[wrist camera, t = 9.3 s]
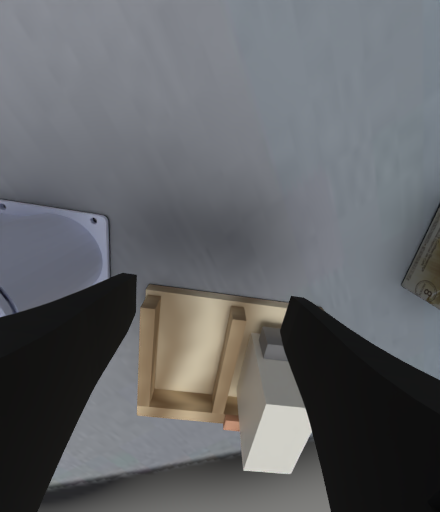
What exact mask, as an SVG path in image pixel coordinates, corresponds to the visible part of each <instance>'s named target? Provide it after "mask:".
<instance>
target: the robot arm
mask: <svg viewBox="0 0 440 512" xmlns="http://www.w3.org/2000/svg"><path fill="white" fill-rule="evenodd" d="M4 205H5V206H6V209H5V208H4ZM93 218H95V219H96V220H97V223H95V222H94V221H93ZM136 282H137V275H134V274H126V273H121V274H118V275H116V276H113V277H111V278H110V265H109V228H108V219H107V217H105V216H104V215H99V214H93V213H86V212H80V211H74V210H67V209H61V208H54V207H48V206H41V205H35V204H28V203H22V202H15V201H9V200H2V199H0V512H37V511H38V509H39V507H40V504H41V502H42V499H43V497H44V495H45V492H46V490H47V488H48V486H49V483H50V481H51V479H52V477H53V474H54V472H55V470H56V468H57V465H58V463H59V461H60V459H61V456H62V454H63V452H64V450H65V448H66V445H67V443H68V441H69V439H70V437H71V435H72V432H73V430H74V428H75V426H76V424H77V422H78V420H79V418H80V415H81V413H82V411H83V409H84V407H85V405H86V403H87V401H88V399H89V397H90V395H91V393H92V391H93V389H94V387H95V385H96V384H97V382H98V380H99V378H100V377H101V375H102V373H103V372H104V370H105V368H106V367H107V365H108V363H109V362H110V360H111V359H112V357H113V355H114V354H115V352H116V350H117V349H118V347H119V345H120V344H121V342H122V340H123V339H124V337H125V335H126V334H127V332H128V330H129V327H130V325H131V323H132V320H133V318H134V316H135V313H136ZM280 334H281V339H282V343H283V348H284V351H285V354H286V357H287V360H288V363H289V365H290V368H291V371H292V373H293V376H294V379H295V381H296V384H297V387H298V389H299V392H300V394H301V397H302V400H303V403H304V406H305V409H306V412H307V415H308V419H309V422H310V426H311V430H312V433H313V437H314V441H315V445H316V449H317V452H318V457H319V461H320V465H321V469H322V473H323V477H324V482H325V486H326V491H327V495H328V500H329V504H330V509H331V512H440V380H438V379H436V378H434V377H432V376H430V375H428V374H426V373H424V372H422V371H420V370H418V369H416V368H414V367H413V366H411V365H409V364H407V363H405V362H403V361H401V360H400V359H398V358H396V357H394V356H393V355H391V354H389V353H387V352H386V351H384V350H382V349H380V348H379V347H377V346H375V345H374V344H372V343H370V342H369V341H367V340H366V339H364V338H363V337H361V336H360V335H358V334H356V333H355V332H353V331H352V330H350V329H349V328H347V327H346V326H345V325H343V324H342V323H340V322H339V321H337V320H336V319H335V318H333V317H332V316H330V315H329V314H328V313H326V312H325V311H323V310H322V309H320V308H319V307H318V306H316V305H315V304H313V303H312V302H310V301H308V300H307V299H305V298H302V297H294V296H291V298H290V301H289V304H288V307H287V310H286V313H285V316H284V319H283V323H282V326H281V329H280Z"/></svg>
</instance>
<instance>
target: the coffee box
mask: <svg viewBox="0 0 440 512" xmlns="http://www.w3.org/2000/svg"><path fill="white" fill-rule="evenodd" d="M402 287H404V288H405V289H407V290H409V291H410V292H412V293H414V294H415V295H417V296H419V297H420V298H422V299H423V300H425V301H427V302H428V303H430V304H432V305H433V306H435V307H436V308H438V309H439V310H440V207H439V209H438V211H437V213H436V215H435V217H434V220H433V222H432V224H431V226H430V228H429V230H428V232H427V234H426V236H425V238H424V240H423V242H422V244H421V246H420V248H419V251H418V253H417V255H416V257H415V259H414V261H413V263H412V265H411V267H410V269H409V271H408V273H407V275H406V277H405V279H404V281H403V283H402Z"/></svg>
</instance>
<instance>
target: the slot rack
mask: <svg viewBox="0 0 440 512" xmlns="http://www.w3.org/2000/svg"><path fill="white" fill-rule="evenodd" d="M288 304H289V303H285V302H278V301H271V300H263V299H256V298H248V297H241V296H234V295H226V294H219V293H211V292H204V291H196V290H189V289H182V288H174V287H167V286H159V285H152V284H149V285H148V287H147V288H146V297H145V300H144V302H143V304H142V306H141V307H140V336H139V368H138V399H137V415H138V416H149V417H159V418H170V419H181V420H191V421H202V422H213V423H223V430H232V431H240V427H239V415H238V403H237V392H236V388H237V385H238V381H239V377H240V373H241V369H242V366H243V362H244V358H245V354H246V350H247V347H248V343H249V339H250V335H251V333H259V334H261V330H262V327H263V326H264V327H272V328H280V329H281V326H282V323H283V319H284V316H285V313H286V310H287V307H288ZM319 308H320V309H322V307H319ZM322 310H323V309H322ZM323 311H324V310H323Z"/></svg>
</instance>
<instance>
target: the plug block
mask: <svg viewBox="0 0 440 512" xmlns="http://www.w3.org/2000/svg"><path fill="white" fill-rule="evenodd" d="M236 392H237V403H238V415H239V427H240V438H241V450H242V461H243V470H245V471H257V472H271V473H283V474H291V472H292V470H293V468H294V466H295V464H296V462H297V460H298V458H299V456H300V454H301V452H302V450H303V448H304V446H305V444H306V442H307V440H308V438H309V436H310V434H311V432H312V430H311V426H310V422H309V419H308V415H307V412H306V409H305V406H304V403H303V400H302V397H301V394H300V392H299V389H298V387H297V384H296V381H295V379H294V376H293V373H292V371H291V368H290V365H289V363H288V360H287V357H286V354H285V351H284V348H283V343H282V339H281V334H280V328H272V327H264V326H263V327H262V330H261V334H259V333H251V335H250V339H249V343H248V347H247V350H246V354H245V358H244V362H243V366H242V369H241V373H240V377H239V381H238V385H237V388H236Z"/></svg>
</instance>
